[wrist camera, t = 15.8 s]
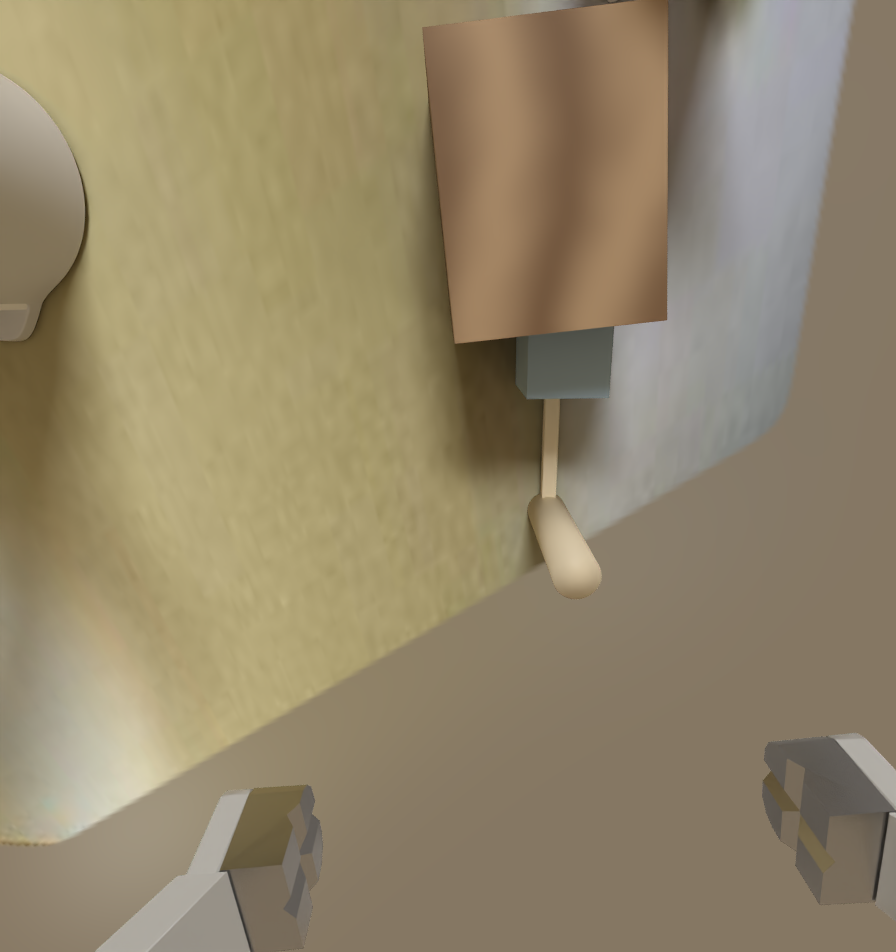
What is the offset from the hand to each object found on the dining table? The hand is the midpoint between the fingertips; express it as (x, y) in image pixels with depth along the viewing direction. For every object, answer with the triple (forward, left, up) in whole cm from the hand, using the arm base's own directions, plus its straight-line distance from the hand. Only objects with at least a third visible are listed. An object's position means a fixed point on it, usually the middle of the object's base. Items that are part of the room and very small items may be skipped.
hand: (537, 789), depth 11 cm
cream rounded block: (+6, -1, -33) cm, 34 cm away
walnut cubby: (+5, +13, -33) cm, 36 cm away
